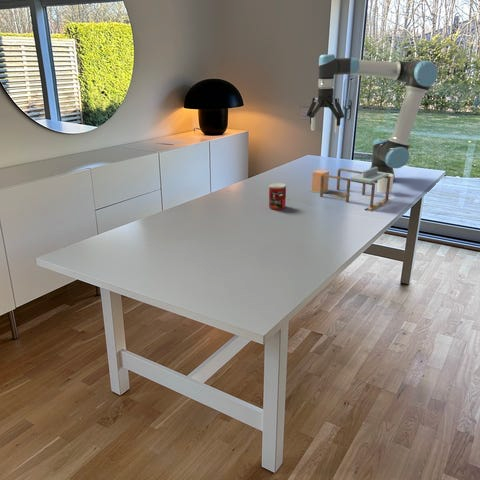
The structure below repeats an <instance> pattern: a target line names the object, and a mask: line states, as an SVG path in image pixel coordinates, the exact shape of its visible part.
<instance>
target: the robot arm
mask: <svg viewBox="0 0 480 480" xmlns="http://www.w3.org/2000/svg"><path fill="white" fill-rule="evenodd" d="M318 59H319V60H318V86H317V87H318V90H317V92H318V93H317V96H318V97H312V100H311V101H312V102H311V104H310V107H309V108H308V110H307V113H306V116H307V117H309V124H310V130H311V131H312V132H313V131H315V130H316V117H315V116H316V114H317V113H318V111H320V110H321V108H328V109H330V111H331V113H332V114H333V115H334V117H335V119H334V133H335V134H336V133H339V131H340V130H339V129H340V128H339V127H340V126H341V119H343V118H345V114H344V111H343V109H342V106H341V104H340V98H338V97H337V98H334V93H335V92H334V91H335V89H334V87H335V76H337V75H351V76H352V75H353V76H361V77H362V76H364V77H376V78H385V79H392V81H398V82H402V83H404V84H405V85H404V86H405V89H406V93H405V95H404V98H403V101H402V105H401V106H400V110H399V113H398V115H397V119H396V122H395V125H394V128H393V130H392V131H393V132H392V134H391V136H390V137H389V138H379V139H378V138H377V139H374V141H373V145H372V155H371V156H372V157H371V166H370V168H369V169H371V168H374V167H378V172H384V173H391V174H394V179H393V182H395V179H396V177H395V171H394V169H400V168H402V167H404V166H406V164H407V163H408V162H409V160H410V153H409V148H410V142H409V138H410V136H411V132H412V129H413V128H414V124H415V122H416V119H417V116H418V112H419V110H420V107H421V104H422V100H423V99H424V95H425V94H426V93H428V92H430V91H429V90H430V88H431V87H430V86H432V85H433V84H435V82H436V81H437V79H438V77H439V69H438V67H437V66H436V64H435V63H434V62H432V61H430V60H408V61H407V60H404V61H399V60H397V61H395V62H389V61H378V60H376V61H375V60H366V59H359V58H357V57H336V56H335V54H321V55H319V57H318ZM317 102H318V104H317ZM316 104H317V105H316ZM377 182H378V180H377V181H375V182H374V183H377Z"/></svg>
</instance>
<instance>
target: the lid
mask: <svg viewBox="0 0 480 480" xmlns="http://www.w3.org/2000/svg"><path fill="white" fill-rule="evenodd" d="M370 168H371V167H370ZM370 168H369V169H366V170H363V171H362V172H363V173H362V174H359V173H358V174H357V175H354V176H352V177H350V179H351V180H355V181H360V182H366V183H376V182H375V181H377V180H379V179H382V178H384V177H386V176H389V173H384V172H378V167H374V168H371V169H370Z"/></svg>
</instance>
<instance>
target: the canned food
mask: <svg viewBox="0 0 480 480" xmlns="http://www.w3.org/2000/svg"><path fill="white" fill-rule="evenodd" d="M268 186H269V187H268V207H269V209H271V210H273V211H274V210H275V211H280V210H284V209H285V208H286V197H287V193H286V192H287V185H286V184H285V183H282V182H272V183H270V184H269V185H268Z"/></svg>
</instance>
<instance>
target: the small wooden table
mask: <svg viewBox="0 0 480 480" xmlns="http://www.w3.org/2000/svg"><path fill="white" fill-rule="evenodd" d="M342 172H346V173H353V174H358V175H359V174H362V173H363V172H364V171H358V170H353V169H345V168H338V170H337V176H335V175H330V174H329V175H325V174H322V176H321V186H320V194H319V197H320V198H323V196H324V194H323V183H324V177H329V178H331V179H336V192H334V193H332V194H329V195H328V196H330V197H335V198H339V199H345V202H346V203H349V202H350V196H351V194H350V189H351V182H352V183H356V184H362V189H361V190H362V191H361V196H365V195H366V186H367V185H370V186H371V192H370V202H369V203H370V204H369V206H368V207H366V208H364V209H363V210H364V211H367V210H368V211H369V212H371V211H374V210H375V209H377V208H379V207H381V206H382V205H385V204H387V203H388V202H390V198H389V195H390V193H389V187H390V179H391V177H390V176H386V177H384V178H388V180H387V189H386V193H385V198H384V199H382V200H381V201H378V202H376V203H374V201H375V200H374V198H375V192H376V190H375V188H376V182H372V183H366V182H360V181H355V180H351V178H347V177H342V176H341V173H342ZM341 180H342V181H345V182H346V183H347V184H346V193H345V192H338V191H340V184H341Z"/></svg>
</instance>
